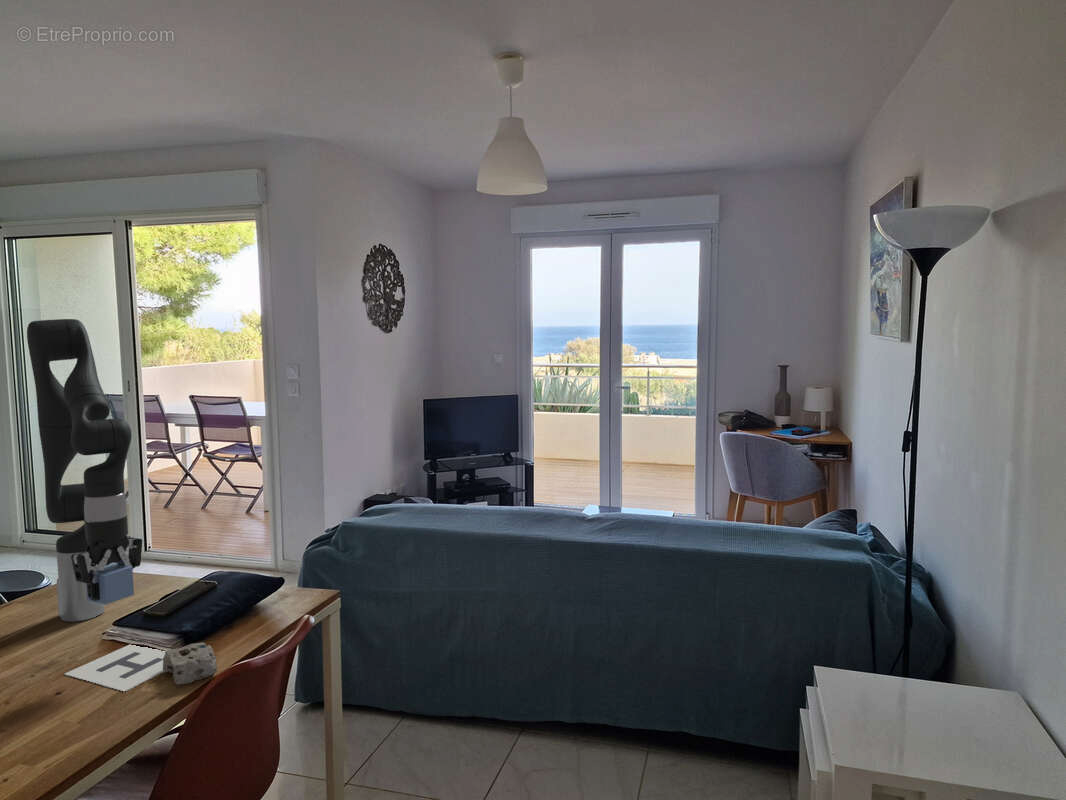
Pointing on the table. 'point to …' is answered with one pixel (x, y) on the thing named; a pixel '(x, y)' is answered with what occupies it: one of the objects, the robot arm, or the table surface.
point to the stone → (190, 663)
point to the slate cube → (115, 583)
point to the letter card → (122, 668)
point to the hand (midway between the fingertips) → (110, 594)
